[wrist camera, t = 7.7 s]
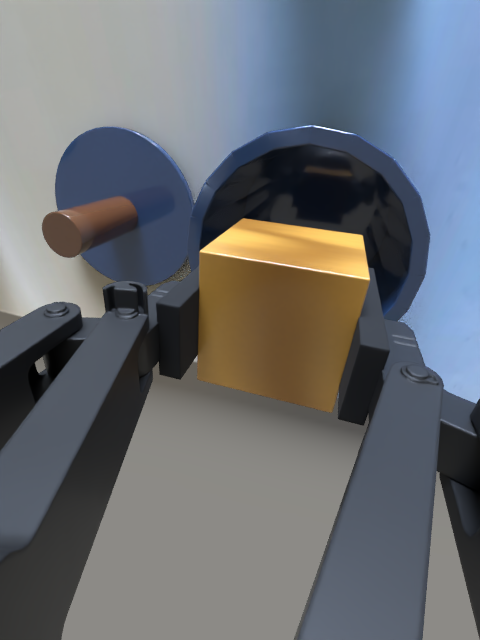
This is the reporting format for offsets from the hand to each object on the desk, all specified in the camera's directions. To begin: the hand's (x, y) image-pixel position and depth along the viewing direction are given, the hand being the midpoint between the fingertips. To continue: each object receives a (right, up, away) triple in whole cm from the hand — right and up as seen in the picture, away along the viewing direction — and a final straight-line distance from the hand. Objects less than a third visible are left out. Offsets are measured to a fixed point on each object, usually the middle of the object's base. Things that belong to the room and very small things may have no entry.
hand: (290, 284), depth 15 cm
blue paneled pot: (+3, +6, +11) cm, 14 cm away
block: (0, 0, 0) cm, 0 cm away
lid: (-13, +8, +15) cm, 21 cm away
